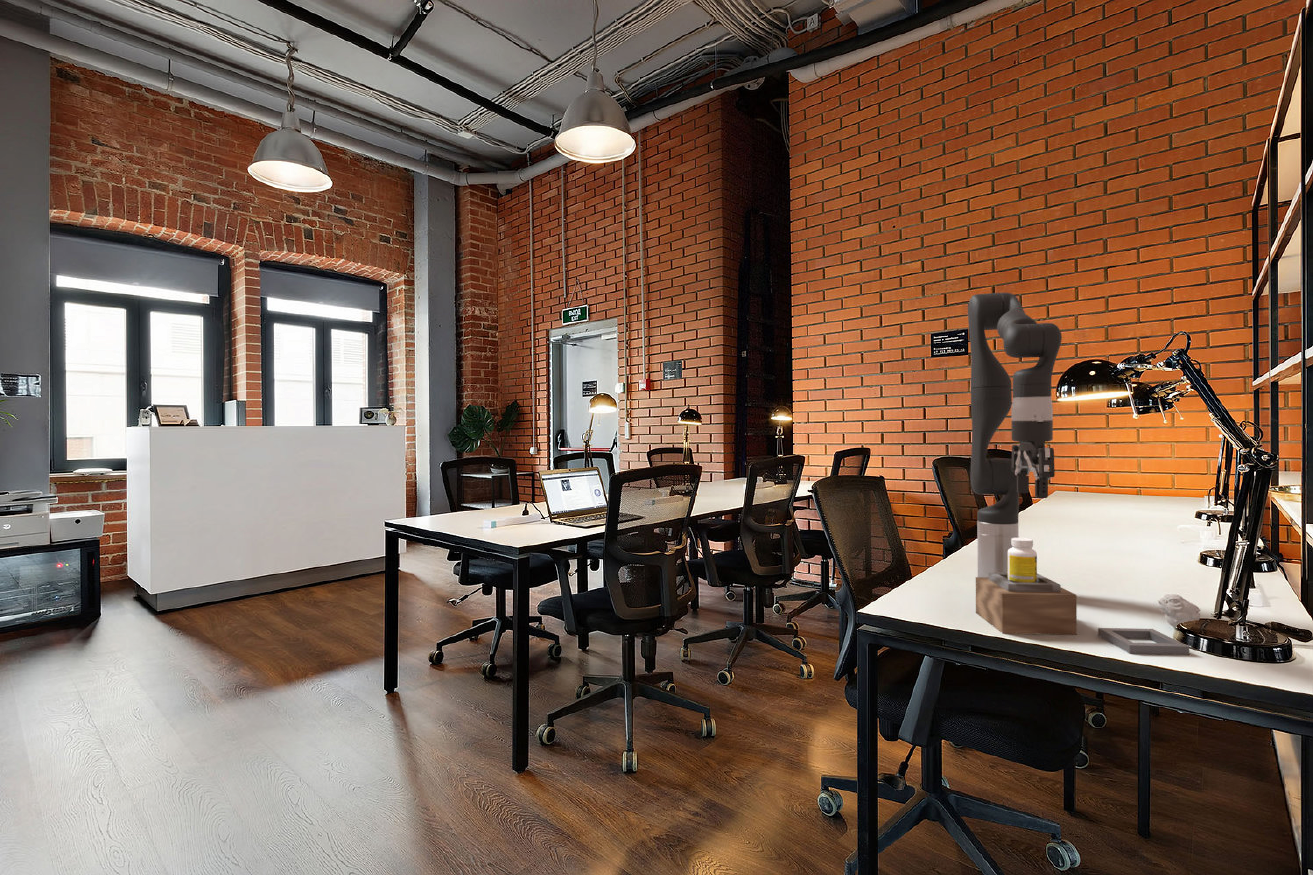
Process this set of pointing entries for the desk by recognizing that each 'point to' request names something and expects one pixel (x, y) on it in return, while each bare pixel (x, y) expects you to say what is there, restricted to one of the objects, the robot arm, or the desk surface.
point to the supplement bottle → (1022, 561)
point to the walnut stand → (1026, 605)
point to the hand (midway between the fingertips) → (1031, 495)
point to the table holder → (1161, 647)
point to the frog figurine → (1178, 609)
